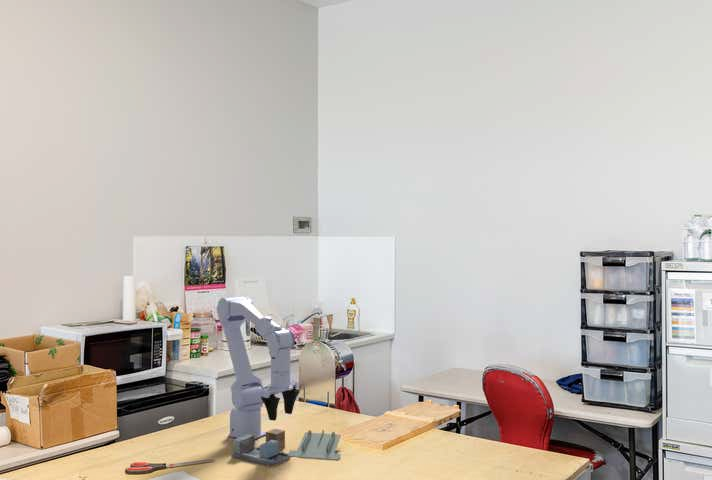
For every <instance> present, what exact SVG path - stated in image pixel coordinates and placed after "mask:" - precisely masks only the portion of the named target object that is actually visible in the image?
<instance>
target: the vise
mask: <svg viewBox="0 0 712 480" xmlns="http://www.w3.org/2000/svg"><path fill="white" fill-rule="evenodd" d="M232 444H233V445H232V449H233V451H232V453H231V457H232V458H234V459H239V460H242V461H246V462H251V463H255V464H260V465H263V464H264V465H263V466H267V465H269V466H268V467H271V466H274V467H276V466H279V465H280V464H282V463H284V461H285V462H286V460H287V461H289V460H291V457H290V455H288V453H289V452H288V453H287V452H283V451H279V453H278V454H276V455H274V456H272V457H270V458H268V459H266V458H262V457H260V446H257V447H255V439H254V435H251V434H246V435H244V436H241V437H239V438H234V439H233V440H232ZM275 465H276V466H275Z"/></svg>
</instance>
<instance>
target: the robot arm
mask: <svg viewBox="0 0 712 480" xmlns="http://www.w3.org/2000/svg"><path fill="white" fill-rule="evenodd" d="M215 309H216V314H217V316H218V320H219V323H220V324H219V325H220V326H221V327H222V330H223V334H224V337H225V341H226V344H227V349H228V353H229V356H230V359H231V363H232V366H233V371H234V375H235V381H234V382H233V383H232V385H231V386H230V392H231V402H232V405H233V407H232V409H231V411H230V414H229V433H228V434H227V436H228V437H231V438H234V439H236V438H239V437H241V436H244V435H246V434H251V435H254V440H256V439H258V438H261V437H263V436H266V432H267V431H262V408H263V407H264V406H265V409H266V412H267V417H268V420H270V421H274V422H275V421H277V416H278V406H279V403H280V400H281V397H277V396H276V395H278V394H281V395H282V397H283V410H284V413H285V414H288V415H292V414H293V410H294V406H295V403H296V400H297V397H298V396H299V394H300V389H297V388H299V381H298V380H291V348H293V347H294V345H295V334H294V333H293V331H292V330H291V329H290V328H282V327H281V326H280V325H279V324H277V322H275V320H273V318H272V317H271V316H263V314H262V313H260V312H259V311H258V310H257V308H255V306H254V303H253V300H252V299H251V298H250V297H249V296H247V295H243V296H234V297H231V296H230V297H221V298H220V299H219V300H218V302H217V306H216V308H215ZM246 321H249V322H250V323H252V324H253V325H254V326H255V331H256V332H257V333H258V335H260V336H261V337H262V338H263V339H264V340H265V341H266V345H267V348H268V354H269V356H270V385H269V386H268V387H266V388H265V386H264V384H263V383H262V379H261V378H260V377H258V376H256V375H254V373H253V369H252V366H251V363H250V358H249V355H248V351H247V348H246V344H245V340H244V337H243V333H242V329H241V327H242V325H244V324H245V323H246Z"/></svg>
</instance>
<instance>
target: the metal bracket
mask: <svg viewBox="0 0 712 480" xmlns="http://www.w3.org/2000/svg"><path fill="white" fill-rule="evenodd" d="M341 437H342V436H341V434H340V433H339V434H338V433H336V431H332V432H331V433H325V429H323V430H322V432H312V430H308V431H307V432H304V434H303V437H302V439H301V441H300V444H299V446H298V447H297V450H296V449H295V450H294V449H293V450H291V449H290V450H289V452H288V455H290V458H292V457H298V458H297V459H315V460H325V461H335V462H337V461H338V462H339V460H340V457H341V453H336V449H337V447H338V444H339V442H340V439H341Z"/></svg>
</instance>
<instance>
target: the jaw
mask: <svg viewBox="0 0 712 480" xmlns="http://www.w3.org/2000/svg"><path fill="white" fill-rule="evenodd" d="M259 447H260V457H262V458H266V459H268V458H270V457H272V456H274V455H276V454H278V453H279V452H280V450H279V446H278V441H275V440H270V441H268V442H266V441H265V442H263V443H261V444H259Z"/></svg>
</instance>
